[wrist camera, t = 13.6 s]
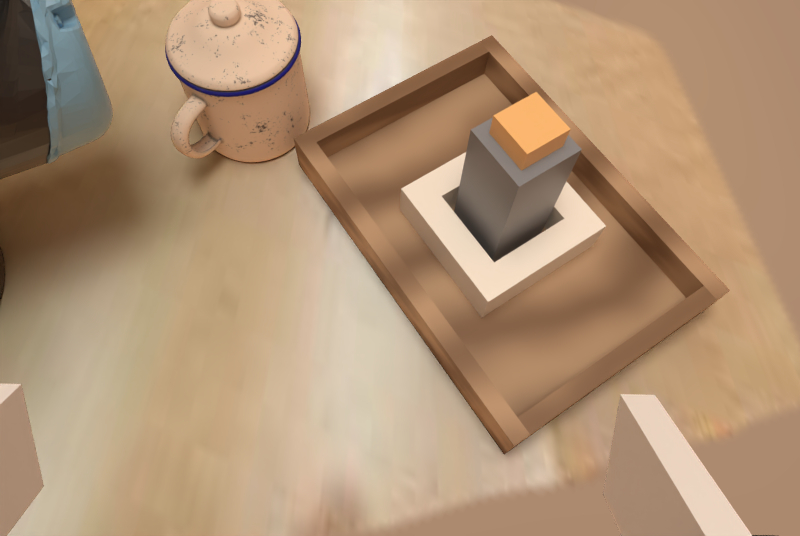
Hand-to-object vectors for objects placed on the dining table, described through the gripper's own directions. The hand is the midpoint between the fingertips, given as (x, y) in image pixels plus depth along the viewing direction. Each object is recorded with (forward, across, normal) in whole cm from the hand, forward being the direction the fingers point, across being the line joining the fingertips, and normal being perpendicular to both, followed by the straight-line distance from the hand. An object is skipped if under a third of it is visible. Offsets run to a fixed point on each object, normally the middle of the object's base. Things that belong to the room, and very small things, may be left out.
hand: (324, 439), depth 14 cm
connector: (+32, +9, -5) cm, 34 cm away
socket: (+33, +9, -6) cm, 35 cm away
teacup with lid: (+39, -10, 0) cm, 41 cm away
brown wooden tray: (+33, +9, -6) cm, 35 cm away
